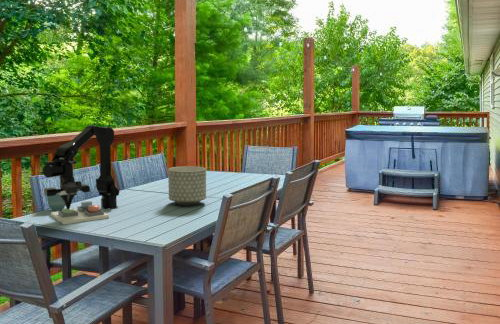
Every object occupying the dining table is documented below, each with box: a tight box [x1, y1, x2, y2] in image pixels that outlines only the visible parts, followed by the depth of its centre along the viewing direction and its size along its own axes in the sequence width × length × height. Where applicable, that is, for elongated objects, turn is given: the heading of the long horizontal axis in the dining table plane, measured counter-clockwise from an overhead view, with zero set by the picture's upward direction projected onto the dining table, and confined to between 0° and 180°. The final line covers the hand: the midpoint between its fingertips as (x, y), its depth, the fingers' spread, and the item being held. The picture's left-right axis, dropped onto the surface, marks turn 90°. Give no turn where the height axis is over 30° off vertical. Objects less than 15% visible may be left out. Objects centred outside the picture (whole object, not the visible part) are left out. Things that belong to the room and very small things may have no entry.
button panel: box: [50, 205, 110, 225], centre depth 230 cm, size 20×20×3 cm
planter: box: [167, 165, 207, 206], centre depth 258 cm, size 19×19×18 cm
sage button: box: [61, 207, 74, 214], centre depth 227 cm, size 5×5×2 cm
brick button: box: [88, 204, 100, 213], centre depth 229 cm, size 5×5×2 cm
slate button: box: [80, 200, 93, 209], centre depth 237 cm, size 5×5×2 cm
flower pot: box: [46, 190, 67, 212], centre depth 245 cm, size 9×9×9 cm
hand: (68, 209), depth 227 cm, fingers closed, pressing on sage button
